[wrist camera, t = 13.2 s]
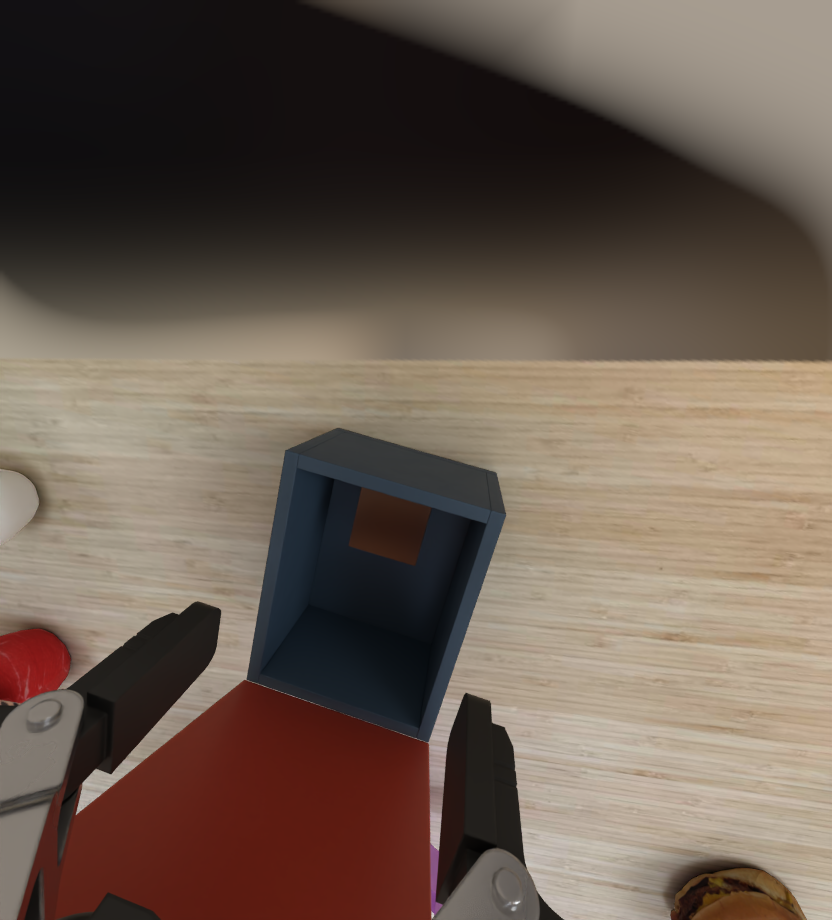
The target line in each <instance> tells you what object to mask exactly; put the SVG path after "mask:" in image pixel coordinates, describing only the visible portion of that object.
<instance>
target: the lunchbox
mask: <svg viewBox="0 0 832 920" xmlns="http://www.w3.org/2000/svg"><path fill="white" fill-rule="evenodd" d="M361 487H364V488H367V489H370V490H374V491H377V492H381V493H384V494H387V495H391V496H394V497H397V498H401V499H404V500H408V501H411V502H414V503H418V504H421V505H425V506H428V507H431V508H432V510H431V514H430V517H429V521H428V524H427V528H426V531H425V535H424V539H423V542H422V545H421V549H420V552H419V556H418V559H417V562H416V566H412V565H409V564H406V563H403V562H399V561H396V560H393V559H389V558H386V557H383V556H380V555H376V554H373V553H370V552H366V551H363V550H360V549H357V548H353V547H350V546H349V541H350V536H351V532H352V527H353V523H354V518H355V514H356V509H357V505H358V501H359V496H360V492H361ZM505 517H506V513H505V508H504V504H503V499H502V495H501V491H500V486H499V482H498V478H497V473H495V472H492V471H488V470H485V469H481V468H478V467H474V466H471V465H467V464H464V463H460V462H456V461H453V460H449V459H446V458H442V457H439V456H435V455H432V454H428V453H425V452H421V451H418V450H414V449H411V448H407V447H404V446H400V445H397V444H393V443H390V442H386V441H383V440H379V439H376V438H372V437H369V436H365V435H362V434H358V433H354V432H351V431H347V430H344V429H340V428H337V429H335V430H332V431H330V432H327V433H325V434H323V435H320V436H318V437H316V438H313V439H311V440H309V441H306V442H304V443H302V444H299V445H297V446H295V447H292V448H290V449H288V450H286V451H285V457H284V463H283V469H282V474H281V480H280V486H279V492H278V498H277V504H276V510H275V516H274V522H273V527H272V533H271V539H270V545H269V551H268V557H267V563H266V569H265V575H264V580H263V586H262V592H261V598H260V604H259V610H258V616H257V622H256V628H255V633H254V639H253V645H252V651H251V657H250V663H249V669H248V675H247V680H249V681H252V682H255V683H258V684H260V685H263V686H266V687H269V688H272V689H275V690H278V691H281V692H284V693H286V694H289V695H292V696H295V697H298V698H301V699H304V700H307V701H310V702H313V703H315V704H318V705H321V706H324V707H327V708H330V709H333V710H336V711H339V712H341V713H344V714H347V715H350V716H353V717H356V718H359V719H362V720H365V721H368V722H370V723H373V724H376V725H379V726H382V727H385V728H388V729H391V730H394V731H397V732H399V733H402V734H405V735H408V736H411V737H414V738H417V739H420V740H422V741H425V742H429V739H430V736H431V733H432V730H433V727H434V724H435V722H436V719H437V716H438V713H439V710H440V707H441V704H442V701H443V698H444V695H445V692H446V689H447V686H448V684H449V681H450V678H451V675H452V672H453V669H454V666H455V663H456V660H457V657H458V654H459V651H460V648H461V646H462V643H463V640H464V637H465V634H466V631H467V628H468V625H469V622H470V619H471V616H472V613H473V610H474V608H475V605H476V602H477V599H478V596H479V593H480V590H481V587H482V584H483V581H484V578H485V575H486V572H487V570H488V567H489V564H490V561H491V558H492V555H493V552H494V549H495V546H496V543H497V540H498V537H499V534H500V532H501V529H502V526H503V523H504V520H505Z"/></svg>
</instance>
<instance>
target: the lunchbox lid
mask: <svg viewBox="0 0 832 920" xmlns="http://www.w3.org/2000/svg"><path fill="white" fill-rule="evenodd" d="M108 892H109V893H111V894H114V895H116V896H118V897H121V898H123V899H126V900H128V901H131V902H133V903H135V904H138V905H140V906H143V907H145V908H147V909H150V910H152V911H154V912H155V914H156V915H157V916H158V917H159V918H160V919H161V920H431V855H430V786H429V744H428V743H426V742H423V741H420V740H417V739H414V738H411V737H408V736H406V735H403V734H400V733H397V732H394V731H391V730H388V729H385V728H382V727H380V726H377V725H374V724H371V723H368V722H365V721H362V720H359V719H356V718H354V717H351V716H348V715H345V714H342V713H339V712H336V711H333V710H330V709H327V708H325V707H322V706H319V705H316V704H313V703H310V702H307V701H304V700H301V699H299V698H296V697H293V696H290V695H287V694H284V693H281V692H278V691H275V690H273V689H270V688H267V687H264V686H261V685H258V684H255V683H252V682H249V681H246V680H244V681H242V682H241V683H240V684H239V685H237V686H236V687H235V688H234V689H232V690H231V691H230V692H229V693H227V694H226V695H225V696H224V697H222V698H221V699H220V700H219V701H217V702H216V703H215V704H214V705H212V706H211V707H210V708H209V709H207V710H206V711H205V712H204V713H202V714H201V715H200V716H199V717H198V718H196V719H195V720H194V721H193V722H191V723H190V724H189V725H188V726H186V727H185V728H184V729H183V730H181V731H180V732H179V733H178V734H176V735H175V736H174V737H173V738H171V739H170V740H169V741H168V742H166V743H165V744H164V745H163V746H161V747H160V748H159V749H158V750H156V751H155V752H154V753H153V754H151V755H150V756H149V757H148V758H146V759H145V760H144V761H143V762H141V763H140V764H139V765H138V766H136V767H135V768H134V769H133V770H131V771H130V772H129V773H128V774H126V775H125V776H124V777H123V778H122V779H120V780H119V781H118V782H117V783H115V784H114V785H113V786H112V787H110V788H109V789H108V790H107V791H105V792H104V793H103V794H102V795H100V796H99V797H98V798H97V799H95V800H94V801H93V802H92V803H90V804H89V805H88V806H87V807H85V808H84V809H83V810H82V811H80V812H79V813H78V814H77V815H75V819H74V824H73V828H72V832H71V836H70V840H69V845H68V849H67V853H66V857H65V861H64V866H63V870H62V874H61V879H60V885H59V891H58V899H57V906H56V913H55V918H54V920H56V919H59V918H62V917H66V916H69V915H72V914H77V913H83V912H94V911H95V910H96V908H97V907H98V905H99V904H100V903H101V901H102V900H103V898H104V897H105V895H106V894H107V893H108Z"/></svg>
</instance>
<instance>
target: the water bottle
mask: <svg viewBox="0 0 832 920" xmlns="http://www.w3.org/2000/svg"><path fill="white" fill-rule="evenodd" d="M70 661H71V658H70V656H69V653H68V651H67V649H66V646H65V645H64V644H63V643H62V642H61V641H60V640H59V639H58V638H57V637H56V636H55V635H54V634H52V633H50V632H48V631H45V630H43V629H28V630H20V631H17V632H13V633H10V634H6V635H2V636H0V705H12V706H14V705H20V704H21V703H23V702H25V701H26V700H28V699H30V698H32V697H34V696H36V695H39V694H41V693H45V692H48V691H52V690H57V689H58V687H59V686H60V685H61V683H62V682H63V681H64V680H65V678H66V677H67V675H68V673H69V670H70Z"/></svg>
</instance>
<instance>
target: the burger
mask: <svg viewBox="0 0 832 920" xmlns="http://www.w3.org/2000/svg"><path fill="white" fill-rule="evenodd" d="M674 907H675V910H676V911H675V910H672V911H671V915H670V916H671V920H807V919H806V917H805V915H804V914H803V912H802V910H801V908H800V906H799V904H798V902H797V900H796V899H795V897H794V896H793V895H792V893H791V892H790V891H789V890H788V889H787V888H786V887H785V886H784V885H783V884H782V883H780V882H779V881H778V880H776V879H775V878H774V877H773V876H771V875H769V874H768V873H766V872H765V871H763V870H757V869H751V868H734V869H730V870H723V871H719V872H714V873H713V874H702V875H698V877H695V878H693V879H691V880H690V881H689V882H688V883H687V884H686V885H685V886H684V887H683V889H682V890H681V891H679V892H678V893H677V894H676V895H675V903H674Z"/></svg>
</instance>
